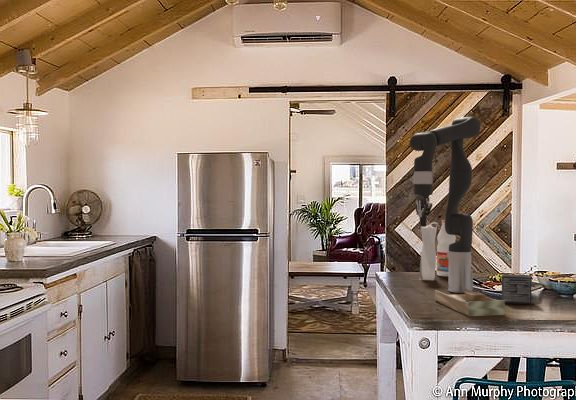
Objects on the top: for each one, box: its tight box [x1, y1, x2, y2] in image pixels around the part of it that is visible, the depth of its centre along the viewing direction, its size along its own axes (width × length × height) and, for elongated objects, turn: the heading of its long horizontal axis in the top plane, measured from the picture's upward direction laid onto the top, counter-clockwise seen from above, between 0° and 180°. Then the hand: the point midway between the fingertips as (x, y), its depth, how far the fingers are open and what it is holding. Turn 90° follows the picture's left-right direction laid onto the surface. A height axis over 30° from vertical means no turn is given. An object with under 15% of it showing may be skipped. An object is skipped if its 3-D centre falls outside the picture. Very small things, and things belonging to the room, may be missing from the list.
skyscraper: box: [418, 222, 439, 281], centre depth 272 cm, size 8×8×28 cm
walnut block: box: [464, 291, 487, 302], centre depth 199 cm, size 5×5×5 cm
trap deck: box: [434, 289, 506, 317], centre depth 209 cm, size 13×28×5 cm, turn 10°
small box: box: [501, 274, 533, 305], centre depth 218 cm, size 11×6×10 cm, turn 71°
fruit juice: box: [436, 219, 457, 277], centre depth 284 cm, size 9×9×28 cm
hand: (422, 226), depth 225 cm, fingers closed
